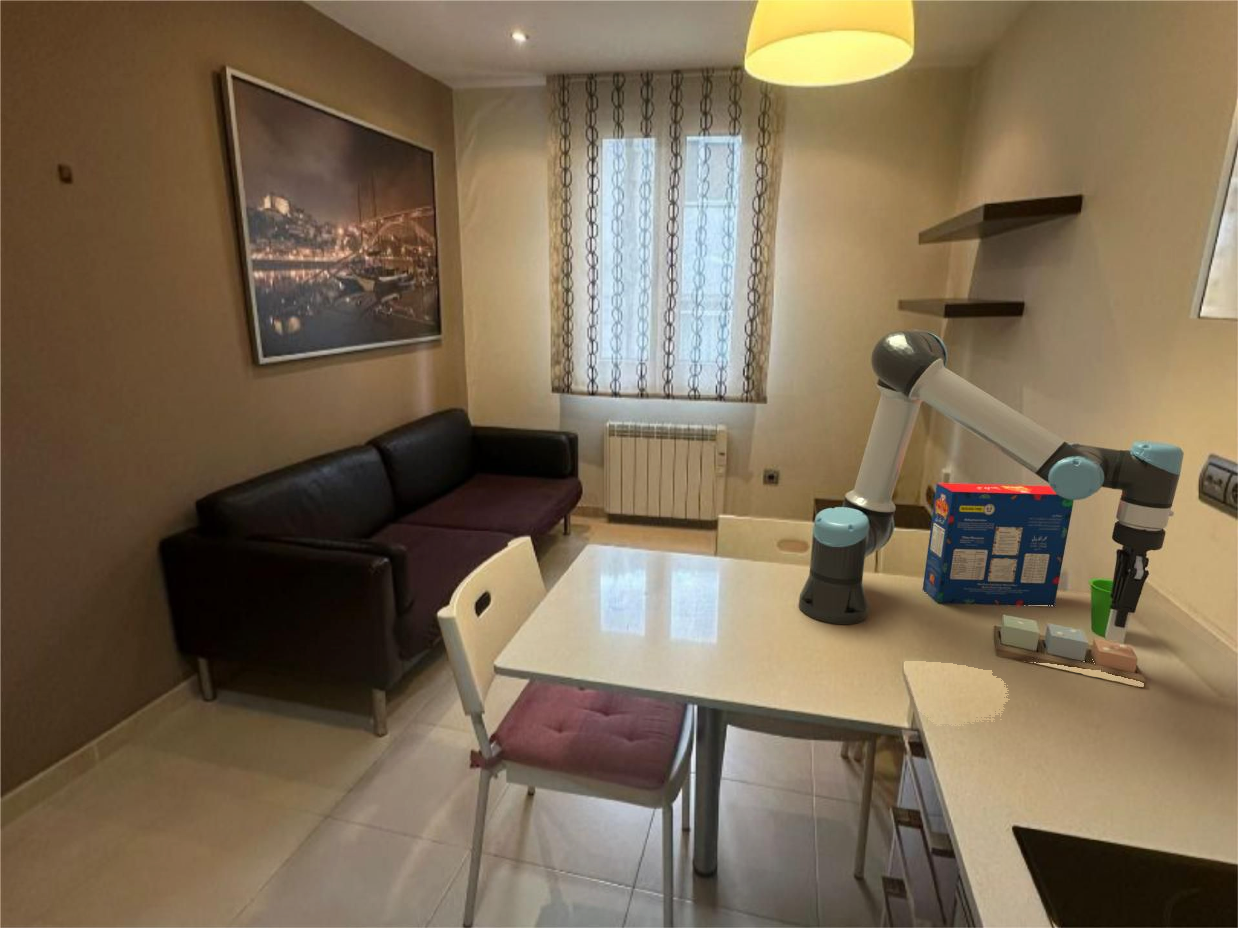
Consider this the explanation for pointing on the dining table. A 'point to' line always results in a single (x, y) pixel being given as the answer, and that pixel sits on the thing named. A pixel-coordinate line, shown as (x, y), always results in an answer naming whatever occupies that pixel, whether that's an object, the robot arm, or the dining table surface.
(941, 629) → the dining table surface
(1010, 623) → the pale green block
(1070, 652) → the grey block
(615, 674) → the dining table surface
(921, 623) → the dining table surface
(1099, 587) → the cup
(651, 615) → the dining table surface
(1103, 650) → the peach block
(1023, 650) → the board
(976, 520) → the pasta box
